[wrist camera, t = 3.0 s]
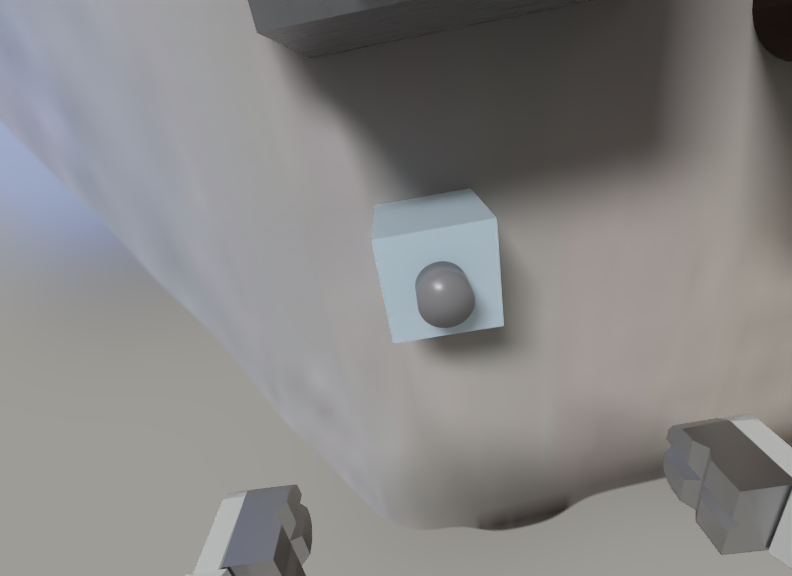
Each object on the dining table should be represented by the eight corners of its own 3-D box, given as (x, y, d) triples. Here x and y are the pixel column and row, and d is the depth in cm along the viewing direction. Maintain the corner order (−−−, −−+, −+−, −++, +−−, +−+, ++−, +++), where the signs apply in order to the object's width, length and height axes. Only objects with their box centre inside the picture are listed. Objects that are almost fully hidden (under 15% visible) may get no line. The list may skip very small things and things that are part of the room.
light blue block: (470, 187, 20) (508, 230, 14) (478, 275, 22) (514, 346, 16) (374, 204, 21) (369, 254, 14) (391, 289, 23) (393, 365, 16)
